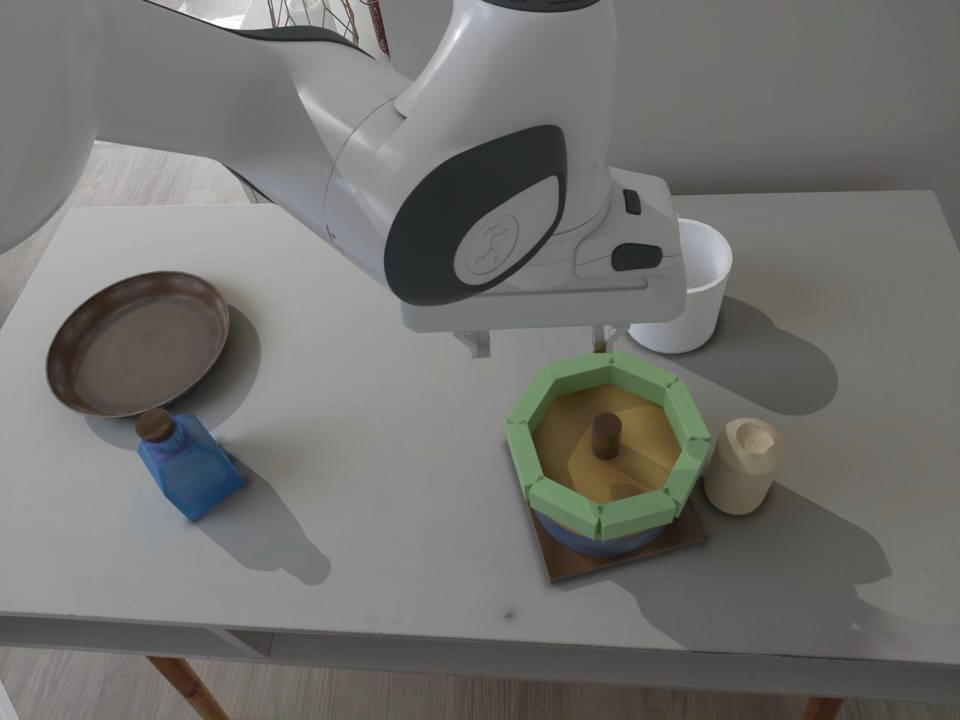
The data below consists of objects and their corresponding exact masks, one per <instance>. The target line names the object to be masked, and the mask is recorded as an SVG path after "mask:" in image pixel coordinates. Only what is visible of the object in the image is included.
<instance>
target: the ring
mask: <svg viewBox="0 0 960 720" xmlns="http://www.w3.org/2000/svg"><path fill="white" fill-rule="evenodd" d="M678 379H679V374H678V373H676V372H673V371H670V370H668V369H667V368H663V367H661V366H659V365H656V364H655V363H651V362H649V361H646V360H644V359H641V358H639V357H637V356H634V355H632V354H630V353H627V352H626V351H623V350H620V349H617V348H616V349H615V350H614V351H613V352H612V353H593V352H590V353H586V354H582V355H577V356H574V357H570V358H566V359H562V360H557V361H553V362H550V363H546V364H545V369H543V368H540V367H539V369H538V370H537V372H536V373H535V375H534V376H533V378H532V380H531V381H530V383H529V384H528V386H527V387H526V389H525V390H524V392H523V393H522V395H521V396H520V398H519V399H518V401H517V402H516V404H515V405H514V407H513V408H512V410H511V411H510V413H509V414H508V415H507V417H506V424H505V433H506V440H507V444H508V447H509V451H510V454H511V457H512V461H513V464H514V467H515V472H516V475H517V478H518V481H519V485H520V488H521V491H522V494H523V498H524V502H526V501H529V500H530V507H532V508H533V509H535V510H537V511H539V512H541V513H543V514H545V515H547V516H549V517H551V518H553V519H555V520H556V521H558V522H560V523H562V524H564V525H566V526H568V527H570V528H572V529H574V530H576V531H578V532H579V533H581V534H583V535H585V536H587V537H589V538H591V539H593V540H595V538H596V536H597V535H598V533H599V534H600V537H601V540H602V541H604V540H608V539H612V538H616V537H619V536H623V535H627V534H631V533H634V532H638V531H642V530H646V529H649V528H653V527H657V526H661V525H664V524H668V523H672V521H673V518H674V516H675V517H677V518H678V517H679V515H680V513H681V511H682V509H683V507H684V505H685V503H686V501H687V499H688V500H689V496H690V495H691V493H692V491H693V489H694V486H695V485H696V482H697V480H698V478H699V477H700V474H701V472H702V470H703V468H704V466H705V464H706V463H707V460H708V457H709V454H710V450H711V447H712V443H711V439H712V435H711V433H710V432H709V429H708V427H707V424H706V423H705V421H704V419H703V417H702V415H701V413H700V410H699V408H698V406H697V404H696V402H695V400H694V398H693V396H692V394H691V391H690V390H689V387H688V385H687V383H686V381H685V380H684V379H680V380H678ZM609 383H610V384H613V385H615V386H617V387H620V388H622V389H624V390H626V391H629V392H631V393H633V394H636V395H638V396H640V397H643V398H645V399H647V400H649V401H652V402H654V403H656V404H659V405H661V406H662V407H663V409H664V411H665V413H666V416H667V418H668V420H669V422H670V425H671V427H672V429H673V431H674V433H675V436H676V438H677V440H678V442H679V445H680V447H681V449H682V452H681V454H680V456H679V458H678V460H677V462H676V464H675V466H674V468H673V470H672V472H671V474H670V476H669V478H668V480H667V481H666V483H665V485H664V487H663V489H659V490H655V491H651V492H648V493H644V494H640V495H636V496H632V497H629V498H625V499H621V500H617V501H613V502H610V503H606V504H602V505H600V504H598V503H596V502H594V501H592V500H590V499H588V498H586V497H584V496H582V495H580V494H578V493H576V492H574V491H572V490H570V489H568V488H566V487H564V486H562V485H560V484H558V483H556V482H554V481H552V480H550V479H549V478H547V477H545V476H544V474H543V471H542V468H541V465H540V462H539V459H538V456H537V453H536V449H535V446H534V443H533V440H532V437H531V436H532V434H533V433H534V431H535V429H536V428H537V426H538V425H539V423H540V422H541V420H542V418H543V417H544V415H545V414H546V412H547V411H548V409H549V408H550V406H551V404H552V403H553V401H554V400H555V398H556V397H558V396H562V395H566V394H570V393H574V392H578V391H581V390H585V389H589V388H593V387H597V386H601V385H605V384H609Z"/></svg>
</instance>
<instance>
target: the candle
mask: <svg viewBox="0 0 960 720" xmlns="http://www.w3.org/2000/svg"><path fill="white" fill-rule="evenodd" d="M718 434H719V435H718V437H717V440H716V443H715V446H714V449H713V451H712V455H711V458H710V460H709V464H708V467H707V470H706V472H705V475H704V482H703V486H704V487H703V488H704V492H705V495H706V497H707V499H708V501H709V502H710V503H711V504H712V505H713V506H714V507H715V508H716V509H718V510H720V511H721V512H723V513H726V514H729V515H735V516H736V515H737V516H741V515H742V516H743V515H747V514H750V513H752V512H754V511H755V510H756V509H757V508H758V507H760V506H761V504H762V502H763V501H764V500H765V498H766V495H767V494H768V491H769V490H770V487H771V485H772V484H773V481H774V479H775V478H776V476H777V474H778V471H779V470H780V468H781V466H782V464H783V461H784V460H785V456H786V444H785V440H784V439H783V436H782V435H781V434H780V432H779V430H777V429H776V428H775V427H774V426H772V425H771V424H770V423H768V422H766V421H764V420H762V419H758V418H755V417H740V418H736V419H733V420H731V421H730V422H728V423H726V424H725V425H724V426H723V427H722V429H721V430H720V432H719V433H718Z"/></svg>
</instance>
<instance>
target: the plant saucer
mask: <svg viewBox="0 0 960 720" xmlns="http://www.w3.org/2000/svg"><path fill="white" fill-rule="evenodd" d="M229 330H230V311H229V306H228V303H227V301H226V299H225V297H224V296H223V294H222V292H221V291H220V290H219V289H218V288H217V287H216V286H215V285H214V284H213V283H212V282H210V281H208V280H207V279H205V278H204V277H201V276H199V275H197V274H194V273H190V272H186V271H180V270H154V271H148V272H143V273H138V274H134V275H131V276H127V277H125V278H123V279H120V280H117V281H116V282H114V283H111V284H109V285H107V286H105V287H104V288H102V289H100V290H99V291H97V292H94V294H92V295H91V296H89V297H88V298H87V299H85V300H84V301H83V302H82V303H81V304H79V305H78V306H77V307H76V308H74V310H73V311H71V313H70V314H69V315H68V316H67V317H66V318H65V320H64V321H63V322H62V323H61V325H60V326H59V328H58V329H57V330H56V331H55V334H54V335H53V338H52V340H51V342H50V344H49V346H48V350H47V353H46V357H45V364H44V374H45V379H46V384H47V386H48V389H49V391H50V393H51V395H53V397H54V398H55V399H56V400H57V402H58V403H59V404H61V405H62V406H64V407H65V408H66V409H68V410H70V411H72V412H74V413H75V414H79V415H82V416H86V417H91V418H99V419H125V418H132V417H138V416H141V415H142V414H144V413H145V412H146V411H148V410H150V409H155V408H162V409H163V408H165V407H167V406H168V405H171V404H172V403H174V402H176V401H178V400H180V399H181V398H182V397H184V396H186V395H187V394H188V393H189V392H191V391H192V390H193V389H194V388H195V387H197V386H198V385H199V384H200V383H201V382H203V380H204V379H205V378H206V377H207V375H209V373H210V372H211V370H212V369H213V368H214V366H215V365H216V363H217V362H218V360H219V358H220V357H221V354H222V352H223V351H224V348H225V345H226V342H227V339H228V336H229Z"/></svg>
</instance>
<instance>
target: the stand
mask: <svg viewBox="0 0 960 720" xmlns="http://www.w3.org/2000/svg"><path fill="white" fill-rule="evenodd" d="M531 437H532V440H533V443H534V446H535V449H536V453H537V456H538V459H539V462H540V465H541V468H542V471H543V474H544V476H545V477H547V478H549V479H550V480H552V481H554V482H556V483H558V484H560V485H562V486H564V487H566V488H568V489H570V490H572V491H574V492H576V493H578V494H580V495H582V496H584V497H586V498H588V499H590V500H592V501H594V502H596V503H598V504H600V505H602V504H606V503H610V502H613V501H617V500H621V499H625V498H629V497H632V496H636V495H640V494H644V493H648V492H651V491H655V490H659V489H663V487H664V485H665V483H666V481H667V480H668V478H669V476H670V474H671V472H672V470H673V468H674V466H675V464H676V462H677V460H678V458H679V456H680V454H681V452H682V449H681V447H680V445H679V442H678V440H677V438H676V436H675V433H674V431H673V429H672V427H671V425H670V422H669V420H668V418H667V416H666V413H665V411H664V409H663V407H662V406H661V405H659V404H656V403H654V402H652V401H649V400H647V399H645V398H643V397H640V396H638V395H636V394H633V393H631V392H629V391H626V390H624V389H622V388H620V387H617V386H615V385H613V384H610V383H609V384H605V385H601V386H597V387H593V388H589V389H585V390H581V391H578V392H574V393H570V394H566V395H562V396H558V397H556V398H555V400H554V401H553V403H552V404H551V406H550V408H549V409H548V411H547V412H546V414H545V415H544V417H543V418H542V420H541V422H540V423H539V425H538V426H537V428H536V429H535V431H534V433H533V434H532V436H531ZM525 504H526V507H527V511H528V514H529V517H530V520H531V525H532V527H533V531H534V534H535V538H536V540H537V541H536V542H537V544H538V548H539V551H540V554H541V558H542V561H543V565H544V568H545V571H546V574H547V578H548V581H549V584H554V583H558V582H560V581H565V580H568V579H573V578H576V577H579V576H583V575H587V574H590V573H594V572H595V573H596V572H598V571H602V570H606V569H609V568H613V567H617V566H620V565H624V564H627V563H631V562H632V563H633V562H635V561H640V560H642V559H647V558H651V557H654V556H657V555H661V554H664V553H668V552H672V551H676V550H679V549H683V548H687V547H691V546H694V545H699V544H702V543H703V542H704V540H705V535H704V533H703V531H702V529H701V528H702V527H700V526H701V525H700V524H699V522H698V519H697V517H696V515H695V512H694V511H693V508H692V505H691V503H690V501H689V498H688V499H687V501H686V503H685V505H684V507H683V509H682V511H681V513H680V515H679V517H678V518H677V517H675V516H674V518H673V521H672V523H668V524H664V525H661V526H657V527H653V528H649V529H646V530H642V531H638V532H634V533H631V534H627V535H623V536H619V537H616V538H612V539H608V540H604V541H602V540H601V537H600V534H599V533H598V535H597V536H596V538H595V540H593V539H591V538H589V537H587V536H585V535H583V534H581V533H579V532H578V531H576V530H574V529H572V528H570V527H568V526H566V525H564V524H562V523H560V522H558V521H556V520H555V519H553V518H551V517H549V516H547V515H545V514H543V513H541V512H539V511H537V510H535V509H533V508H532V507H530V500H529V501H525Z"/></svg>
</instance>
